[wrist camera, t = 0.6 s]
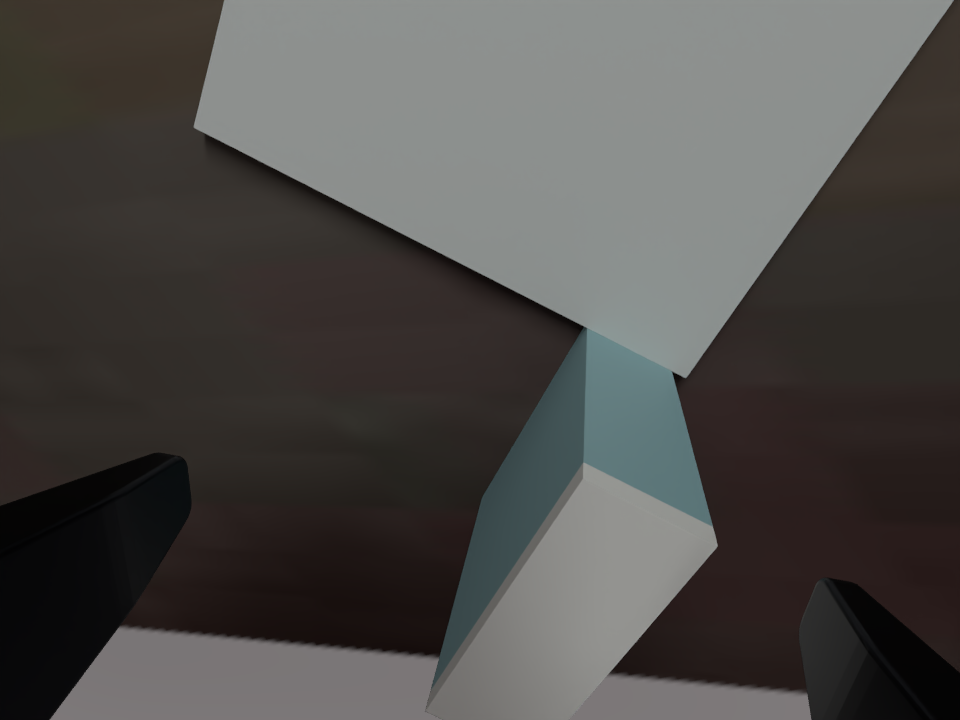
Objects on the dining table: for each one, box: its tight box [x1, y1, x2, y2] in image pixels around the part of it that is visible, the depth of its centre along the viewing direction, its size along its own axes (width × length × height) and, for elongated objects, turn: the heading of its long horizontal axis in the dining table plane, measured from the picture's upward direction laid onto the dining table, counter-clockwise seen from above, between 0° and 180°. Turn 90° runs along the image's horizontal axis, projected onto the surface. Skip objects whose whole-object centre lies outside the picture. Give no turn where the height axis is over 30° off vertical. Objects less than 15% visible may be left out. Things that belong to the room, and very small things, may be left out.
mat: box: [194, 0, 954, 378], centre depth 17 cm, size 17×14×1 cm
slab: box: [425, 327, 718, 720], centre depth 18 cm, size 3×8×9 cm, turn 155°
